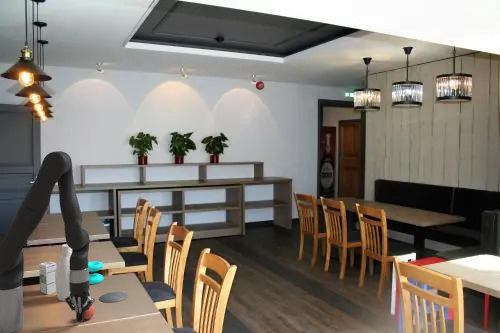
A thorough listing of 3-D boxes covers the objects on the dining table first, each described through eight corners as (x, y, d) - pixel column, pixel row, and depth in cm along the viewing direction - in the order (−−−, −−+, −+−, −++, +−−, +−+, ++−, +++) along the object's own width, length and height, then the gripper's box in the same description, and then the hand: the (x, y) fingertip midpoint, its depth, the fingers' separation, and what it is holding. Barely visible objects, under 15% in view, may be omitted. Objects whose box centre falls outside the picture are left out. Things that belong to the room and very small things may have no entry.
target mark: (102, 304, 194) (102, 304, 194) (96, 295, 205) (96, 295, 205) (131, 299, 201) (131, 298, 201) (123, 290, 212) (123, 290, 212)
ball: (81, 322, 175) (80, 308, 175) (78, 317, 180) (78, 303, 180) (96, 319, 178) (96, 305, 178) (93, 314, 183) (93, 300, 183)
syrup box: (57, 291, 211) (56, 262, 210) (46, 295, 206) (45, 265, 205) (50, 289, 214) (49, 260, 213) (39, 292, 209) (38, 263, 208)
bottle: (85, 294, 207) (84, 242, 206) (73, 302, 196) (72, 248, 194) (63, 293, 208) (62, 241, 207) (50, 301, 197) (49, 247, 196)
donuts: (106, 263, 224) (87, 267, 217) (106, 282, 224) (87, 286, 218) (98, 259, 231) (80, 263, 224) (99, 277, 232) (80, 281, 225)
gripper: (99, 277, 174) (100, 318, 175) (71, 274, 178) (72, 315, 179) (87, 283, 167) (88, 326, 168) (59, 280, 171) (60, 322, 172)
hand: (80, 320), depth 174 cm, fingers closed
